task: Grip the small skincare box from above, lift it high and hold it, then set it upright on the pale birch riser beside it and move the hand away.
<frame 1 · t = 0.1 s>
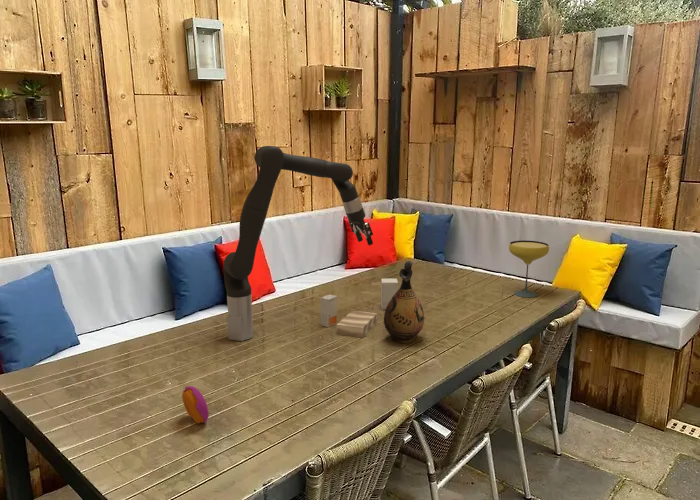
hand: (365, 242, 232), 31 cm above the table, tool tilted 20°, fingers open, 8 cm apart
supplement box: (389, 307, 245), on the table
birch riser: (357, 328, 220), on the table
donut: (196, 421, 150), on the table
skincare box: (329, 324, 224), on the table
cocktail glass: (525, 294, 263), on the table
ceramic jug: (403, 338, 209), on the table
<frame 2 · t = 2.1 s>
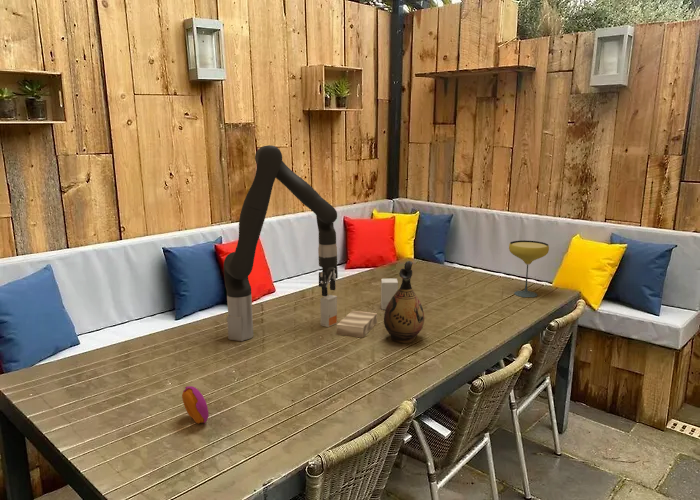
hand: (328, 292, 221), 14 cm above the table, tool pointing down, fingers open, 8 cm apart
nothing on the table moved.
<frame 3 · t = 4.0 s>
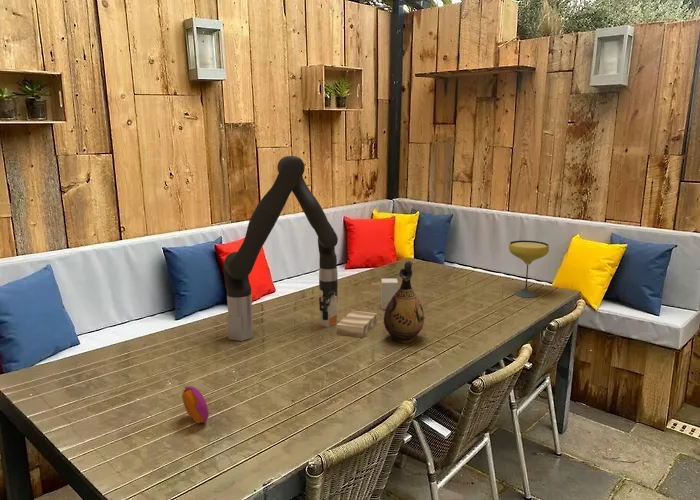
hand: (328, 316, 223), 3 cm above the table, tool pointing down, fingers closed on skincare box, 7 cm apart
skincare box: (329, 324, 224), on the table, touching gripper
everything else where it was.
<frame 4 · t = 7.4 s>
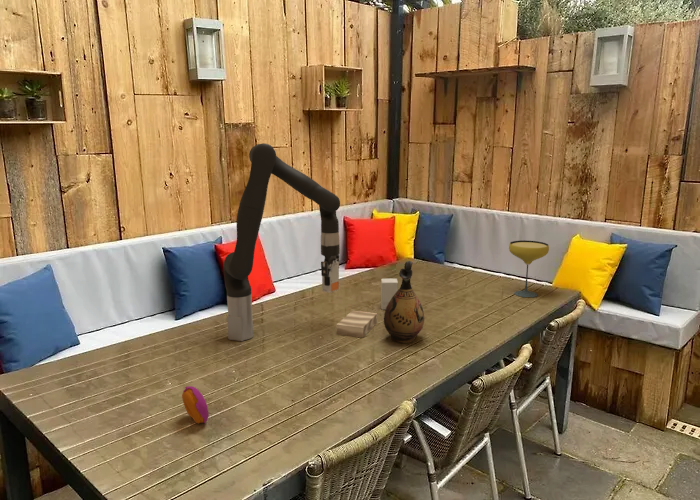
hand: (330, 282, 220), 18 cm above the table, tool pointing down, fingers closed on skincare box, 7 cm apart
skincare box: (330, 291, 221), point 14 cm above the table, touching gripper
everything else where it was.
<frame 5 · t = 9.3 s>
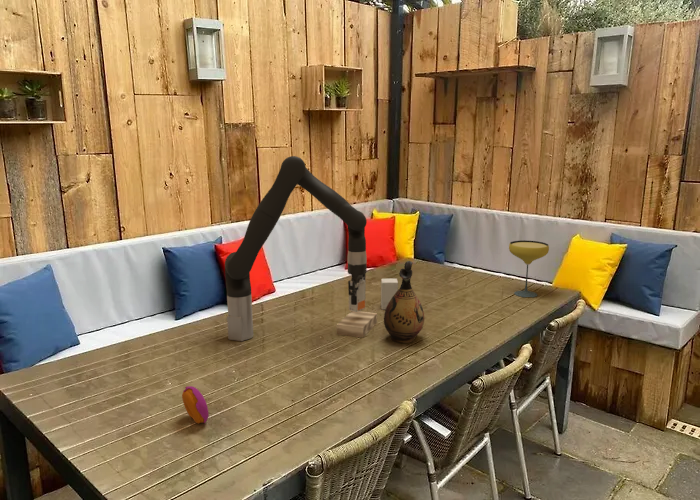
hand: (357, 301, 217), 11 cm above the table, tool pointing down, fingers closed on skincare box, 7 cm apart
skincare box: (357, 309, 218), point 8 cm above the table, touching gripper
everything else where it was.
when the fingers open (9 cm above the table, at t = 10.8 s): skincare box drops 1 cm, resting on birch riser.
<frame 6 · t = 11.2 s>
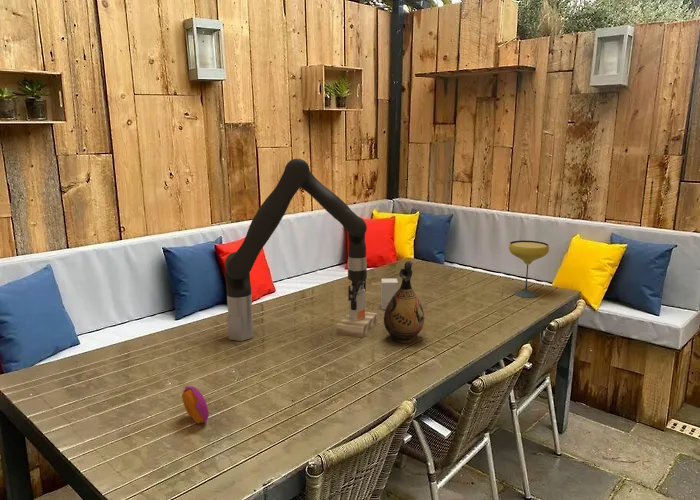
hand: (357, 306, 218), 9 cm above the table, tool pointing down, fingers open, 8 cm apart
skincare box: (357, 319, 219), point 4 cm above the table, touching birch riser
everything else where it was.
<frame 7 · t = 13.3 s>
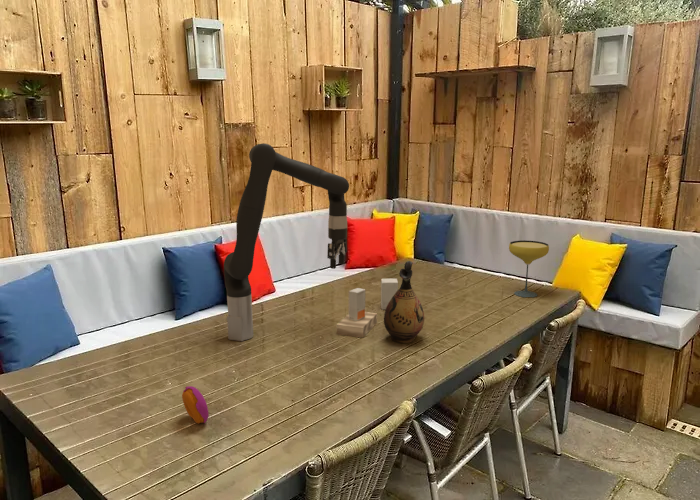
hand: (337, 266, 219), 25 cm above the table, tool pointing down, fingers open, 8 cm apart
nothing on the table moved.
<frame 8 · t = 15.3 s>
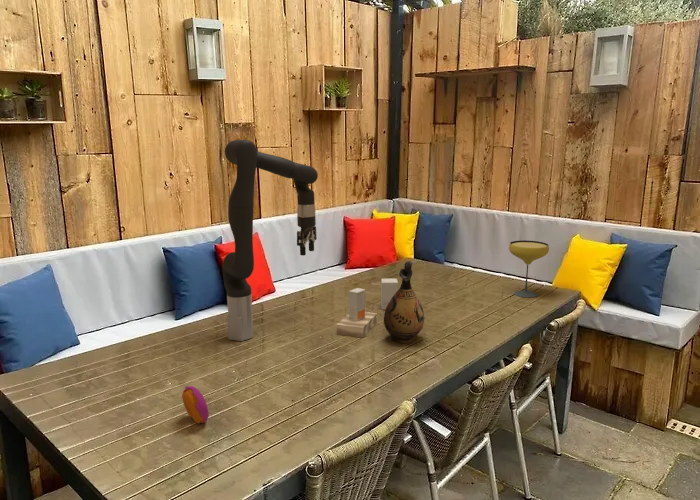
hand: (307, 253, 227), 28 cm above the table, tool pointing down, fingers open, 8 cm apart
nothing on the table moved.
at the end: skincare box inside the target area on the birch riser (0.2 cm from its centre), point 3.8 cm above the birch riser's base; skincare box tilted 0°; the gripper is holding nothing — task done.
